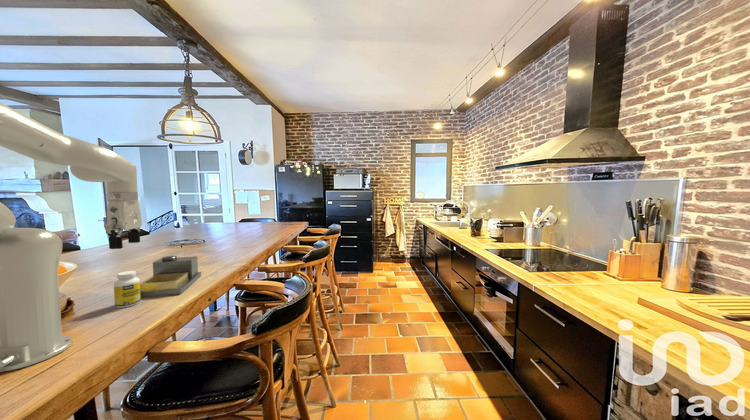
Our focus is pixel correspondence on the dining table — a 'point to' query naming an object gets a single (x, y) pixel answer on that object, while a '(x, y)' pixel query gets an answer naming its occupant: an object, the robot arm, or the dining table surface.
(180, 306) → the dining table surface
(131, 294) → the pill bottle
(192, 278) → the tray
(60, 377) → the dining table surface
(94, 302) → the dining table surface
